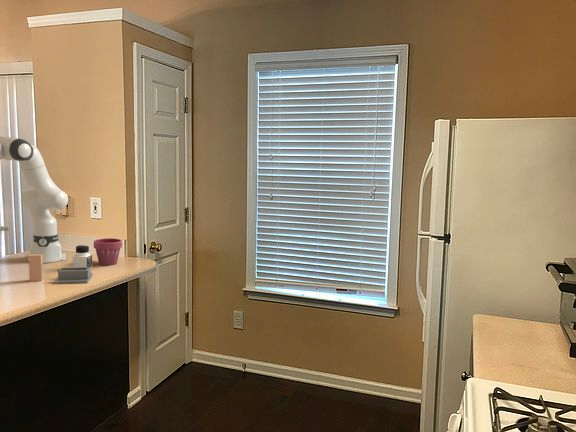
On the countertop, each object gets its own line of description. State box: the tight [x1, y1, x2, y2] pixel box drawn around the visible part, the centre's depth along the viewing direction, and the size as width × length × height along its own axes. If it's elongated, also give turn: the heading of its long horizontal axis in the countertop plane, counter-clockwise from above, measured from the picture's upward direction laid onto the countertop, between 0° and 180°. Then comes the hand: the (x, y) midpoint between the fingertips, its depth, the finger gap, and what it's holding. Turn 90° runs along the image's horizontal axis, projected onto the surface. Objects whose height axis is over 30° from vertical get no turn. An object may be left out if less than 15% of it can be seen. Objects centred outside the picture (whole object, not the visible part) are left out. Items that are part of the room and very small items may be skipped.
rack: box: [53, 266, 93, 285], centre depth 214 cm, size 14×14×5 cm
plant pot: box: [93, 237, 123, 266], centre depth 246 cm, size 14×14×13 cm
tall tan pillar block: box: [28, 254, 44, 282], centre depth 210 cm, size 3×5×12 cm, turn 104°
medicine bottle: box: [72, 244, 93, 268], centre depth 234 cm, size 7×7×12 cm
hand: (5, 230), depth 205 cm, fingers open, 8 cm apart
